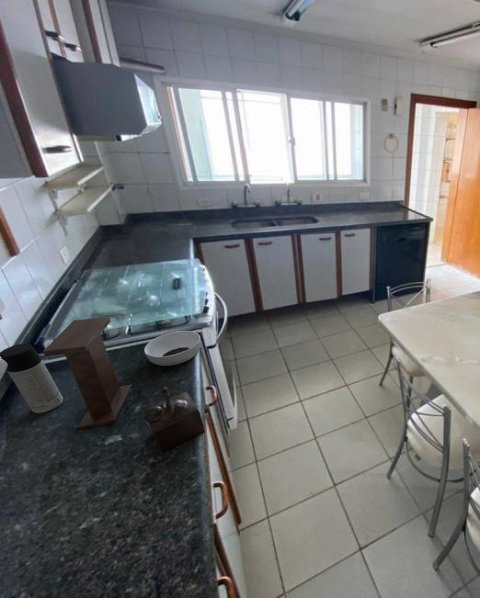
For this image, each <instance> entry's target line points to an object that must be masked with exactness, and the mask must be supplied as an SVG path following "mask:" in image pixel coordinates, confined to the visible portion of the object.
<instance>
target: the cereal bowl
mask: <svg viewBox="0 0 480 598" xmlns="http://www.w3.org/2000/svg"><path fill="white" fill-rule="evenodd" d="M201 347H202V339H201V336H200V334H199V333H198V332H196V331H193V330H177V331H172V332H171V331H170V332H167V333H163V334H161V335H159V336H157V337H155V338H153V339H152V340H150V341H149V342H148V343H146V345H145V346H144V349H143V351H144V354H145V357H146V358H147V360H148V361H149V362H150V363H152V364H153V365H155V366H162V367H171V366H176V365H180V364H183V363H186V362H188V361H190V360H191V359H192V358H194V357H195V356H196V355H198V353H199V351H200V350H201ZM181 348H182V349H183V348H187V349H186V350H184V351H181V352H179V353H175V354H171V355H166V354H167V353H168V352H171V351H173V350H176V349H181ZM164 355H165V356H164Z"/></svg>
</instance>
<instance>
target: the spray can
mask: <svg viewBox="0 0 480 598" xmlns="http://www.w3.org/2000/svg"><path fill="white" fill-rule="evenodd" d="M0 358H1V359H3V360H4V361H5V362H6V363H7V368H6V370H5V371H6V372H7V374H8V375H9V377H10V378H11V380H12V382H13V383H14V384H15V387H17V389H18V391H19V392H20V394H21V395H22V398H23V399H24V401H25V402H26V404H27V405H28V407H29V408H30V410H31V412H33V413H34V414H44V413H47V412H50V411H52V410H55V409H56V408H58V407H59V406H61V405H62V404H63V401H64V397H63V395H62V394H61V392H60V389H59V388H58V386H57V385H56V382H55V381H54V379H53V378H52V377H53V376H52V375H51V374H50V372H49V370H48V367H47V366H46V365H45V363H44V361H43V359H42V357H41V356H40V354H39V352H37V351H36V349H35V347H34V346H32V345H31V344H30V343H28V342H27V343H26V342H25V343H19V344H15V345H11V346H9V347H7V348H4V349H3V350H2V351H0Z"/></svg>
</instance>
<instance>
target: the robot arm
mask: <svg viewBox="0 0 480 598" xmlns="http://www.w3.org/2000/svg"><path fill="white" fill-rule="evenodd" d="M6 368H7V363H6V362H5V361H4V360H3V359H1V357H0V381H1V380H2V378H3V377H4V374H5V372H6V371H7V370H6Z"/></svg>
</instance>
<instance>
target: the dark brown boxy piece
mask: <svg viewBox="0 0 480 598" xmlns="http://www.w3.org/2000/svg"><path fill="white" fill-rule="evenodd" d="M161 392H162V394H161V395H162V397H163V398H164V400H162V401H160V402H157V403H155V404H153V405H150V406H148V407H146V408H143V409H144V410H143V412H144V416H143V420H144V421H145V422H147V423H148V425H149V427H150V430H151V431H152V432H151V433H152V435H153V437H154V441H153V445H154V447H157V446H158V447H159V450H160V451H161V453H162V454H163V455H165V454H167V453H170V452H171V450H172V451H174V450H175V448H176V447H178V448H180V447H182V446H183V445H185V444H187V443H189V442H191V441H193V440H195V439H196V438H198V437H200V436H202V435H203V434H205V433H206V430H205V426H204V422H203V419H202V416H201V413H200V410H199V408H198V406H197V405H196V403H195V401H194V400H193V398H192V397H191V396H190V395H189V393H188V392H187V391H183V392H181V393H178V394H176V395H174V396H171V395H170V392H169V389H168V388H167V387H166V386H165V387H164V386H163V387H162V388H161ZM186 442H187V443H186ZM184 443H185V444H184ZM179 446H180V447H179ZM173 449H174V450H173ZM176 449H177V448H176ZM166 452H167V453H166ZM164 453H165V454H164Z"/></svg>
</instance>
